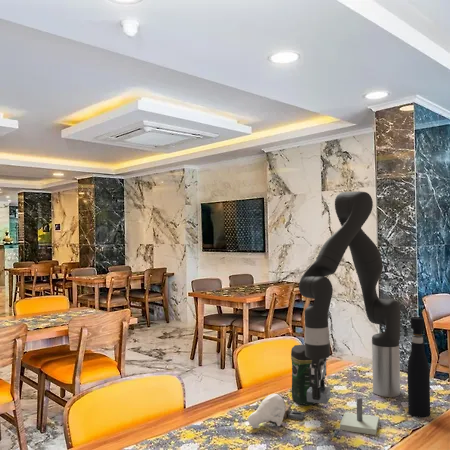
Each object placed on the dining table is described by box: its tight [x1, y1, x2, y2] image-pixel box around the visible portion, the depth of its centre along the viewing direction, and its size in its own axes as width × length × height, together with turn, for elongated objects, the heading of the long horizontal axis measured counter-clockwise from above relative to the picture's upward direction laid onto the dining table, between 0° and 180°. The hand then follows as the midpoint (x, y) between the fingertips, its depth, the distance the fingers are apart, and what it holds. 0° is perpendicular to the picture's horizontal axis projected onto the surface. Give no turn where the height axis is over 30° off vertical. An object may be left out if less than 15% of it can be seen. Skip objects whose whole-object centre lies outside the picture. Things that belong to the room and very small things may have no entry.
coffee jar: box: [290, 344, 316, 406], centre depth 159 cm, size 10×8×19 cm
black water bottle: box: [406, 316, 431, 419], centre depth 146 cm, size 6×6×30 cm
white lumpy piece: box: [247, 393, 286, 430], centre depth 139 cm, size 6×8×12 cm
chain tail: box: [283, 404, 306, 421], centre depth 145 cm, size 5×8×2 cm, turn 66°
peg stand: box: [339, 397, 380, 436], centre depth 138 cm, size 10×10×8 cm
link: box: [307, 386, 332, 405], centre depth 142 cm, size 6×6×3 cm
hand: (318, 395), depth 142 cm, fingers closed on link, 6 cm apart
